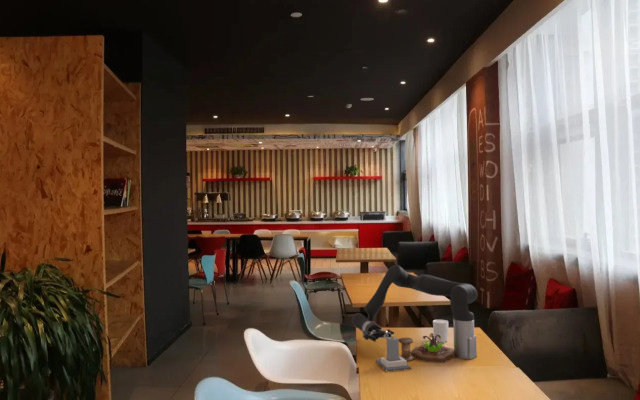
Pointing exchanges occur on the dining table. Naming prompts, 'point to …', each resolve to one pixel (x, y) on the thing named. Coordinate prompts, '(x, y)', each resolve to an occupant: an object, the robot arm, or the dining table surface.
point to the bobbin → (406, 348)
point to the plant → (433, 351)
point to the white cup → (440, 330)
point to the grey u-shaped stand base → (393, 364)
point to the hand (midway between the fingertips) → (383, 338)
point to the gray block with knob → (392, 348)
